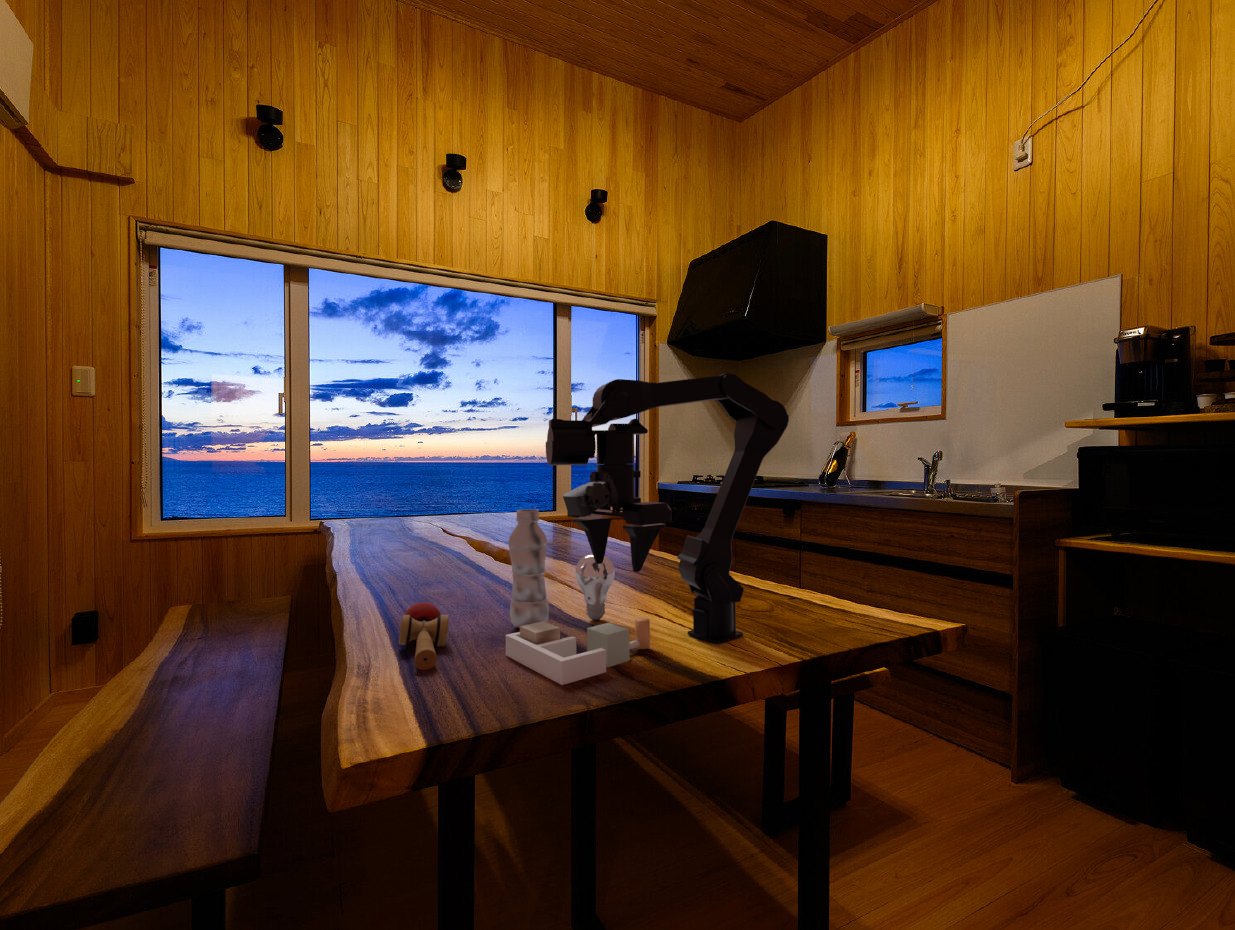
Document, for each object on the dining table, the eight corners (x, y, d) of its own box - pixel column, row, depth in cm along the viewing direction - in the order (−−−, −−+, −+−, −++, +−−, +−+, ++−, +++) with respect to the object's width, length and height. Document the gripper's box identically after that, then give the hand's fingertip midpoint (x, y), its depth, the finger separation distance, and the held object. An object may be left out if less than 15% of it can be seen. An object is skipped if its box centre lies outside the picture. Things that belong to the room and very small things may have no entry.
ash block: (543, 651, 88) (543, 621, 88) (560, 658, 85) (559, 627, 85) (520, 657, 86) (519, 626, 86) (536, 665, 82) (535, 632, 82)
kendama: (461, 674, 83) (449, 624, 99) (452, 633, 82) (442, 589, 98) (403, 692, 80) (401, 637, 97) (393, 650, 79) (393, 601, 96)
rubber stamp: (638, 644, 91) (637, 615, 91) (658, 651, 87) (658, 621, 87) (587, 659, 84) (587, 627, 84) (607, 667, 81) (607, 634, 81)
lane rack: (546, 645, 91) (546, 625, 91) (606, 672, 79) (605, 649, 79) (505, 655, 86) (505, 634, 86) (561, 685, 75) (561, 661, 75)
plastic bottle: (542, 633, 97) (540, 511, 97) (503, 631, 98) (501, 511, 98) (554, 622, 103) (552, 508, 103) (517, 621, 105) (516, 508, 104)
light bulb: (592, 613, 109) (591, 548, 109) (623, 618, 105) (622, 551, 105) (567, 622, 104) (566, 553, 104) (599, 628, 100) (598, 557, 99)
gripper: (537, 465, 92) (539, 565, 92) (611, 465, 77) (612, 584, 77) (595, 464, 99) (597, 557, 99) (673, 463, 84) (674, 573, 84)
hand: (617, 567), depth 90 cm, fingers open, 9 cm apart
